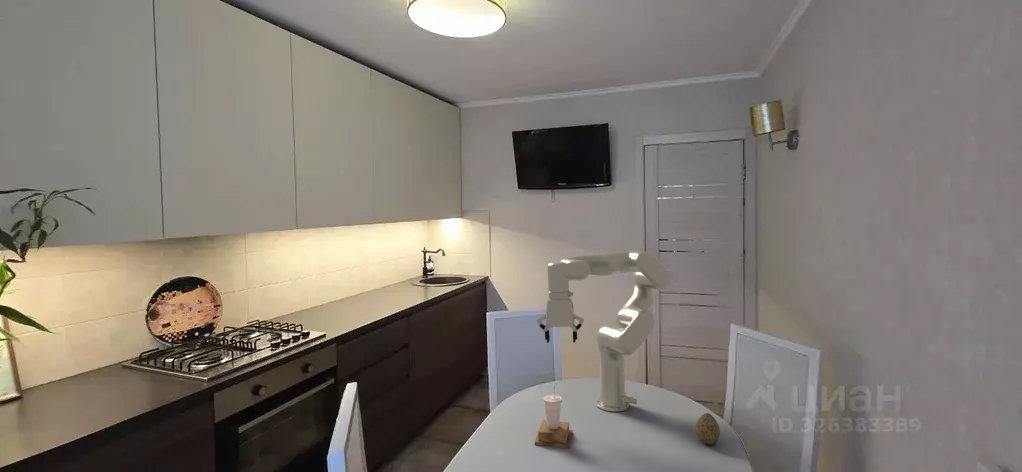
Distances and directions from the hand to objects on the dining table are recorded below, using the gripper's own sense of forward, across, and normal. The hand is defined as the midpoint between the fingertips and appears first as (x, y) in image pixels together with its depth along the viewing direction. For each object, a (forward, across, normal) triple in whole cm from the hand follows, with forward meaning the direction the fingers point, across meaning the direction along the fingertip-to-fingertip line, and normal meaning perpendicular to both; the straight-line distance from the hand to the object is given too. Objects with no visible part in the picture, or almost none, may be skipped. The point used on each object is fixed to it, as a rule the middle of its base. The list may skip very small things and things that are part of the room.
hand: (561, 341), depth 170 cm
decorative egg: (+30, -47, +13) cm, 57 cm away
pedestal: (+28, +2, +18) cm, 33 cm away
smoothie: (+24, +2, +17) cm, 30 cm away
